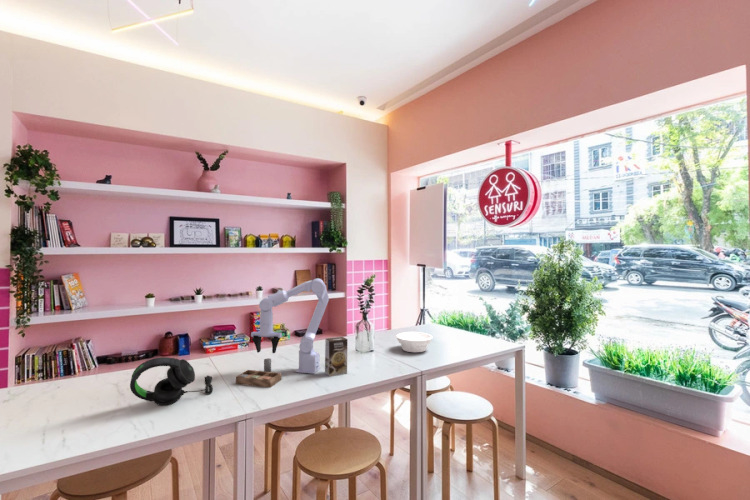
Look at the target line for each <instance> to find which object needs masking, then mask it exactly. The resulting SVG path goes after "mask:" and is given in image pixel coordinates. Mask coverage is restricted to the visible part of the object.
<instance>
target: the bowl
mask: <svg viewBox="0 0 750 500" xmlns="http://www.w3.org/2000/svg"><path fill="white" fill-rule="evenodd" d="M395 337H396V340H397V342H398V343H399V344H400V345H401V348H402V350H403V351H405V352H409V353H424V352H425V351H426V350H427V348H428V346H429V344H430V343H431V342H432V340H433V337H434V336H433V335H431V334H429V333H426V332H419V331H405V332H400V333H397V334H396V336H395Z"/></svg>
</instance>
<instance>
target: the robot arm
mask: <svg viewBox="0 0 750 500" xmlns="http://www.w3.org/2000/svg"><path fill="white" fill-rule="evenodd" d="M311 291H312V292H313V293H314V294H315V296H316V297H317V300H318V301H317V304H316V306H315V309H314V311H313V314H312V317H311V318H310V321H309V324H308V326H307V329H306V331H305V333H304V335H303V336H302V337H301V338H300V343H299V350H298V368H297V369H296V370H295V373H303V374H304V373H305V374H316V373H317V372H318V371H319V370H320V369H321V366H320V365H321V364H320V353H319V352H316V351H315V349H314V340H315V337H316V335H317V331H318V329H319V326H320V324H321V321H322V319H323V317H324V313H325V311H326V308H327V306H328V303H329V301H330V297H329V294H328V290H327V286H326V284H325V282H324V281H323V279H322V278H319V277H317V278H314V279H310V280H308V281H307V280H306V281H304V282H302V283H300V284H298V285H296V286H295V287H293V288H290V289H289V290H283V289H282V290H280V289H279V290H277V291H276V292H275V293H273V294H268V295H267V297H264V298H262V299H261V300H260V301H259V303H258V304H259V308H260V311H259V313H260V314H259V331H252V332H250V337H251V340H252V342H253V343H254V346H255V348H256V352H257V353H260V352H261V350H262V346H261V343H262V338H271V347H272V349H271V350H272V351H271V353H272V354H275V353H276V352H277V348H278V345H279V342H280V340H281V338H282V337H283V333H282V332H277V331H274V322H273V321H274V317H273V316H274V313H273V307H274V308H275V307H278V306H281V305H282V304H284V303H287V302H288V301H289V298H291V297H292V296H295V295H297V294H298V295H299V294H301V293H302V292H311Z"/></svg>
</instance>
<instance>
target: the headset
mask: <svg viewBox="0 0 750 500" xmlns="http://www.w3.org/2000/svg"><path fill="white" fill-rule="evenodd" d="M157 367H169V368H168V369H167V372H166V378H163V379H161V380H159V381H158V382H157V383H156V385H155V386H154V390H153V391H151V390H147V389H145V388H142V387H141V386H140V385H139V383H138V382H137V381H138V379H139V377H140V376H141V375H142V374H143V373H144V372H147V371H148V370H150V369H152V368H157ZM195 373H196V372H195V369H194V367H193V366H192V364H191V363H190V362H189V361H187V359H184V358H183V359H178V358H175V357H166V356H165V357H155V358H151V359H148V360H145V361H144V362H142V363H141V364H139V365H138V366H137V367H136V368H135V369H134V371H133V372H132V375H131V377H130V383H129V388H130V391H131V393H132V394H133V395H134V396H135V397H137V398H139V399H141V400H144V401H146V402H150V403H151V402H153V403H154V404H155V405H157V406H162V407H163V406H165V407H166V406H170V405H172V404H175V403H177V402H178V401H180V399H181V398H182V397H183V396H184V394H186V393H187V394H188V393H199V392H204V394H205V395H210V394H212V393H213V392H214V388H213V384H212V383H213V377H212V376H210V375H209V374H208V375H206V376H204V385H205V388H204V389H200V390H187V391H186V390H185V389H184V388H186V387H187V385H189V384H191V383H193V382H194V381H195V380H196V374H195Z"/></svg>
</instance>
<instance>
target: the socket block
mask: <svg viewBox="0 0 750 500" xmlns="http://www.w3.org/2000/svg"><path fill="white" fill-rule="evenodd" d="M281 380H282V373H281V372H273V371H271V372H266V371H264V370H263V371H262V370H255V369H254V370H252V369H247V370H245V371H244V372H242V373H240V374H238V375H236V376H235V385H242V386H244V385H245V386H253V387H264V388H272V387H273V386H275V385H276V384H278V383H279V382H281Z"/></svg>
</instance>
